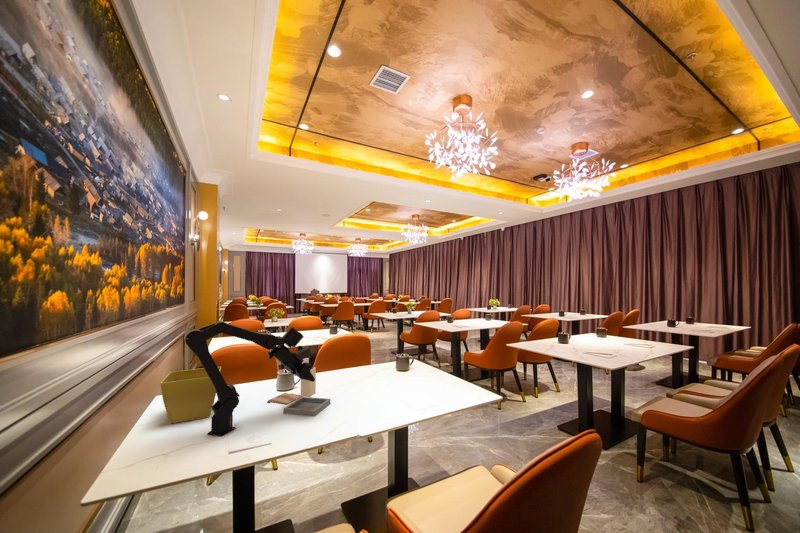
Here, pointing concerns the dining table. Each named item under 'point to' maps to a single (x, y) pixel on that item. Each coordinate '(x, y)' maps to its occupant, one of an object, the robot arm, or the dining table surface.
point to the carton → (309, 385)
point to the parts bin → (307, 406)
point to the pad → (284, 398)
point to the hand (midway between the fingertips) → (311, 378)
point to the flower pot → (188, 395)
